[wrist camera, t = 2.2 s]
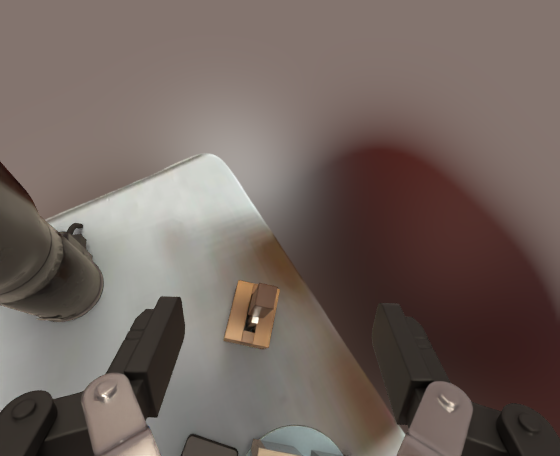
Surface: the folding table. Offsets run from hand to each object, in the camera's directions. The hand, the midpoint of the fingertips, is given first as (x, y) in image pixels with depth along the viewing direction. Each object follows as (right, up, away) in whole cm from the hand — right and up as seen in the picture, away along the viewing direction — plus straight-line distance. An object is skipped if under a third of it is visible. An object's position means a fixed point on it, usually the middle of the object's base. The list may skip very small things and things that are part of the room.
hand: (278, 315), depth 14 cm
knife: (-5, -10, +37) cm, 38 cm away
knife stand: (-5, -10, +37) cm, 38 cm away
